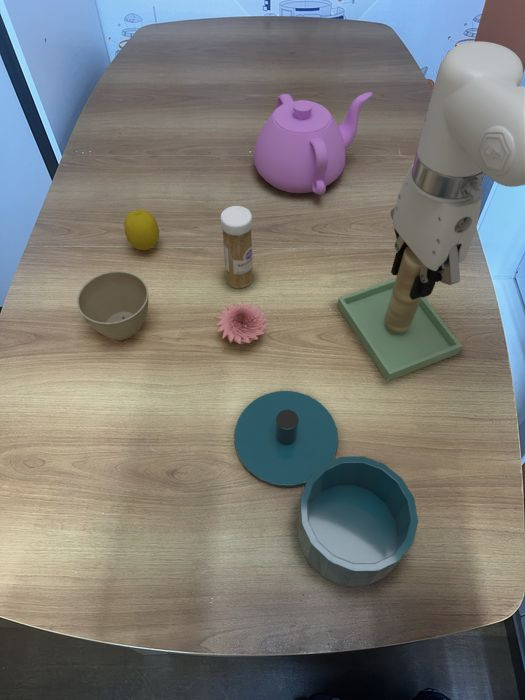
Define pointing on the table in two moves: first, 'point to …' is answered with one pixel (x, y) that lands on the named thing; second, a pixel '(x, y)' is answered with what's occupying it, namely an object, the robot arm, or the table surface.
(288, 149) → the teapot
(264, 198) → the table surface
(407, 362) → the tray
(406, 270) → the stick
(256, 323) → the flower
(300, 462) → the pot lid
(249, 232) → the sprinkles bottle
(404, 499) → the pot
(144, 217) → the lemon
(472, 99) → the robot arm
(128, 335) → the bowl
